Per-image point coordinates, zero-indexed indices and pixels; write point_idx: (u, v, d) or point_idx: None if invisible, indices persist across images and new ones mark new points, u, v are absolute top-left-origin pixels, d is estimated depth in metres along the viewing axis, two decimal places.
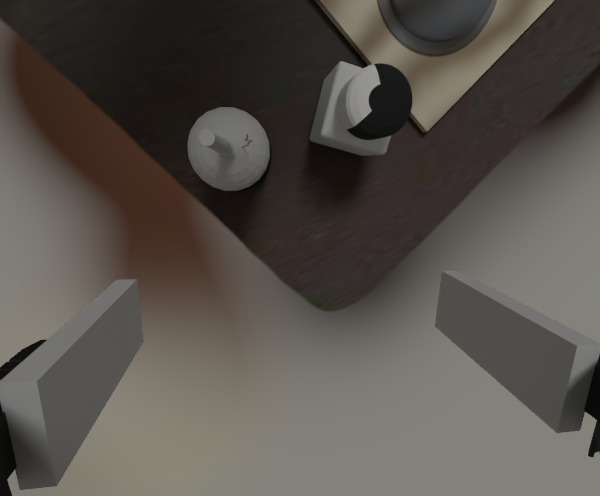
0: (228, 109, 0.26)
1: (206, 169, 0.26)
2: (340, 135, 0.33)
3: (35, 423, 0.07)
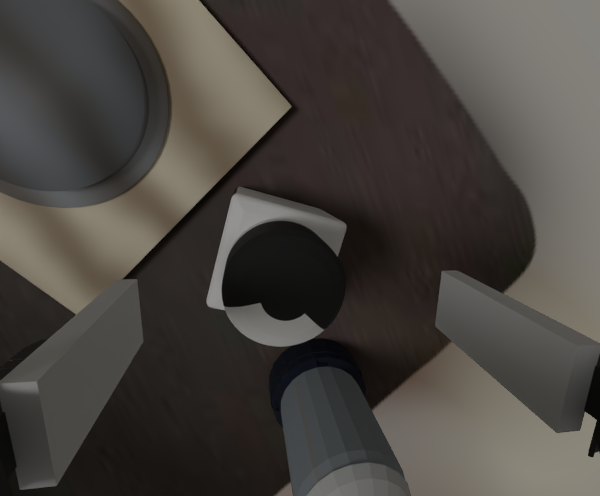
0: None
1: None
2: None
3: (35, 423, 0.07)
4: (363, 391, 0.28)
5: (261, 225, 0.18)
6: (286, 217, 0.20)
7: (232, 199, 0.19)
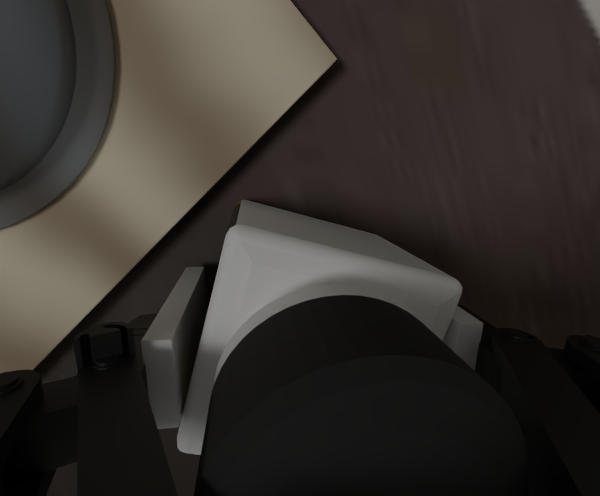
0: None
1: None
2: None
3: (167, 374, 0.09)
4: None
5: (297, 311, 0.07)
6: (344, 274, 0.09)
7: (227, 238, 0.09)
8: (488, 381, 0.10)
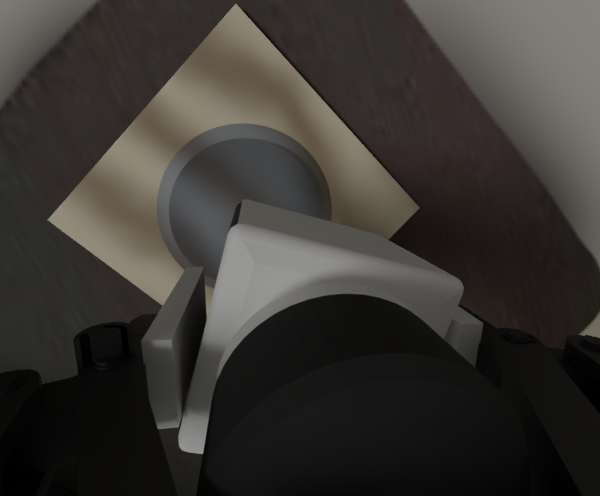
0: None
1: None
2: None
3: (167, 374, 0.09)
4: None
5: (299, 310, 0.07)
6: (345, 274, 0.09)
7: (229, 237, 0.09)
8: None
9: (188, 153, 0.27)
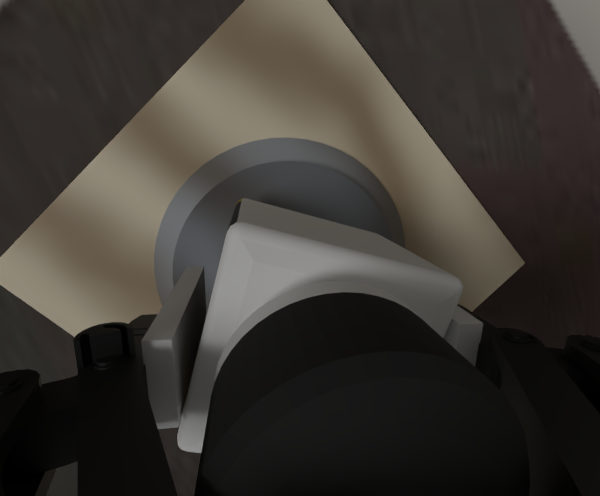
0: None
1: None
2: None
3: (167, 374, 0.09)
4: None
5: (298, 309, 0.07)
6: (345, 272, 0.09)
7: (228, 236, 0.09)
8: None
9: (205, 179, 0.18)
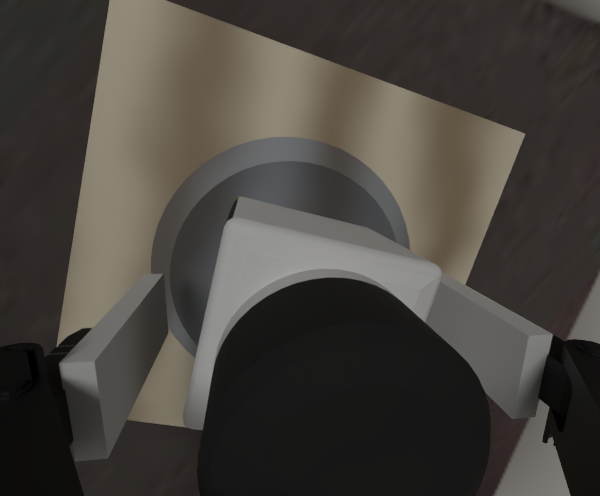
0: None
1: None
2: None
3: (91, 400, 0.08)
4: None
5: (288, 292, 0.08)
6: (332, 261, 0.10)
7: (225, 230, 0.10)
8: (557, 394, 0.09)
9: (329, 158, 0.18)
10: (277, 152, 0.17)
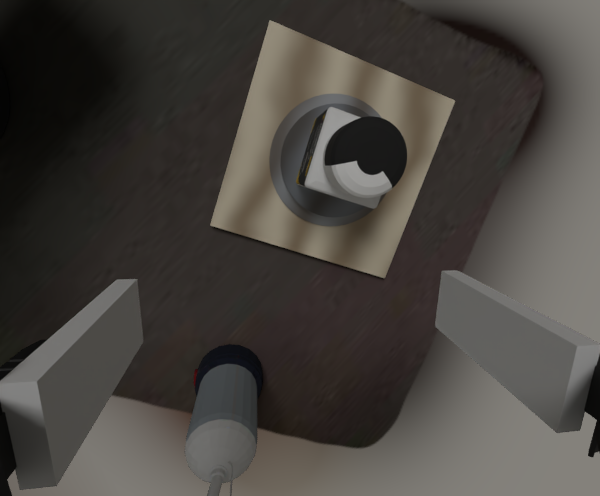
0: (205, 429, 0.30)
1: (210, 482, 0.31)
2: None
3: (35, 423, 0.07)
4: None
5: None
6: None
7: (328, 110, 0.29)
8: None
9: (358, 105, 0.37)
10: (333, 101, 0.36)
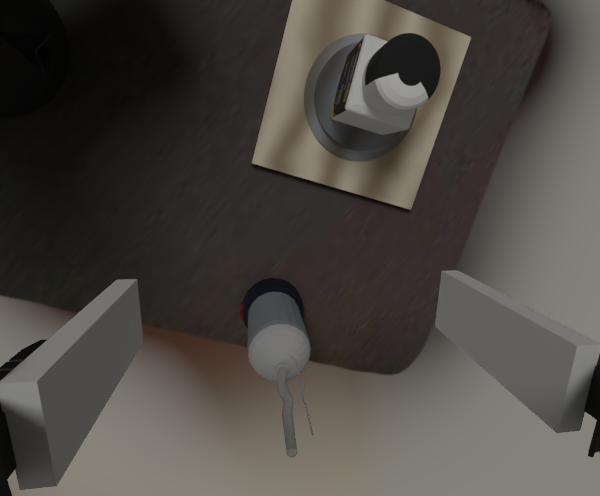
0: (266, 332, 0.34)
1: (273, 379, 0.35)
2: (411, 109, 0.34)
3: (35, 423, 0.07)
4: None
5: None
6: None
7: (365, 37, 0.32)
8: None
9: None
10: None
